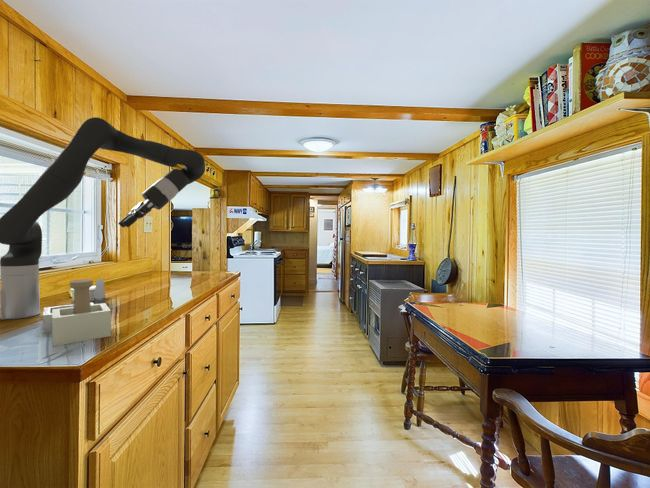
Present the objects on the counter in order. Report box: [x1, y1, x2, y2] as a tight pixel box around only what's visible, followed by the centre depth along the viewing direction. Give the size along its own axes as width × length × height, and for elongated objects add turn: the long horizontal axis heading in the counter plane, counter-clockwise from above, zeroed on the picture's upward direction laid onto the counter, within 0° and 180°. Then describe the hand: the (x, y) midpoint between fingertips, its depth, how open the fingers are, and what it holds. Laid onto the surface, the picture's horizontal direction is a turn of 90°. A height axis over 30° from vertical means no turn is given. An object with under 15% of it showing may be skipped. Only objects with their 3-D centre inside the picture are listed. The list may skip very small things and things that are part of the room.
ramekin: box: [70, 284, 96, 302], centre depth 131 cm, size 11×11×5 cm
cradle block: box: [52, 302, 112, 347], centre depth 85 cm, size 12×12×7 cm
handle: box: [69, 278, 94, 314], centre depth 85 cm, size 5×6×15 cm
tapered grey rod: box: [93, 278, 106, 304], centre depth 118 cm, size 3×25×15 cm, turn 35°
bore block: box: [42, 301, 94, 334], centre depth 95 cm, size 12×12×5 cm
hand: (122, 225), depth 101 cm, fingers open, 8 cm apart
